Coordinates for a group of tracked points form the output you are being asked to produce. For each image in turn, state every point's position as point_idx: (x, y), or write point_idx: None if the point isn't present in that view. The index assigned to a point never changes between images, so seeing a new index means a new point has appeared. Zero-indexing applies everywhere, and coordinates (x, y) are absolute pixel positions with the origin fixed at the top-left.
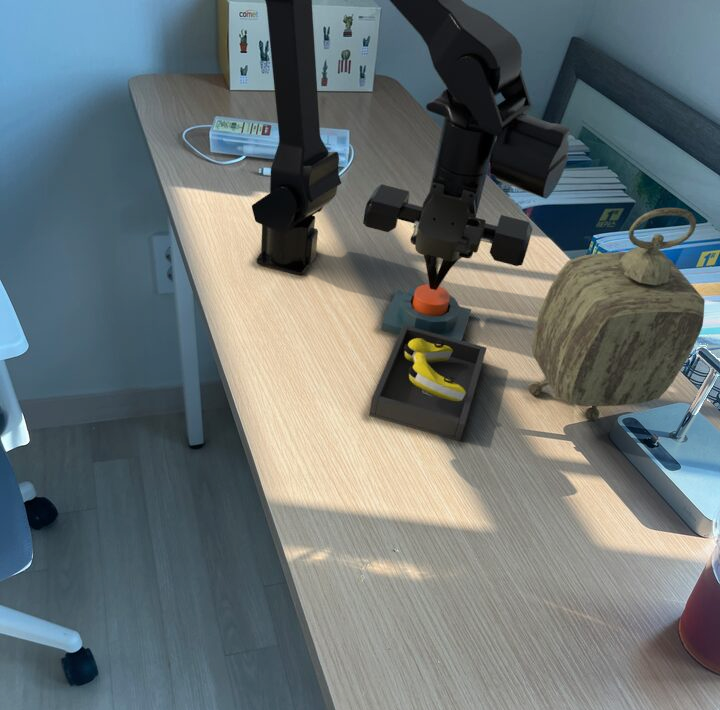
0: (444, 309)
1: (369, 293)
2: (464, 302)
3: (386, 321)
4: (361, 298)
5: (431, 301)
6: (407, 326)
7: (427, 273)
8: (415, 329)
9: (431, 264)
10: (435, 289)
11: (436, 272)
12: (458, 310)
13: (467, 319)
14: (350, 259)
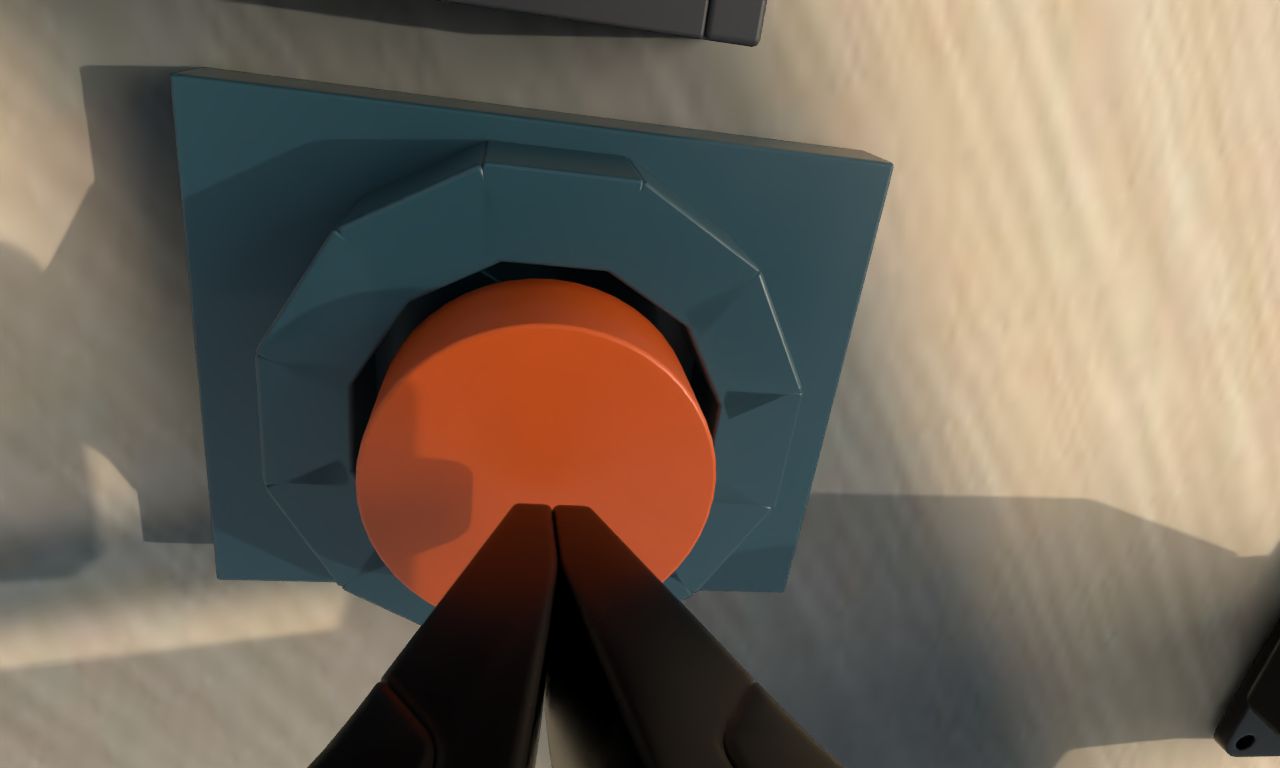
0: (390, 375)
1: (932, 528)
2: (313, 665)
3: (858, 195)
4: (984, 464)
5: (535, 377)
6: (715, 29)
7: (686, 609)
8: (630, 2)
9: (695, 722)
10: (524, 504)
11: (564, 680)
12: (262, 435)
13: (208, 450)
14: (1026, 759)
